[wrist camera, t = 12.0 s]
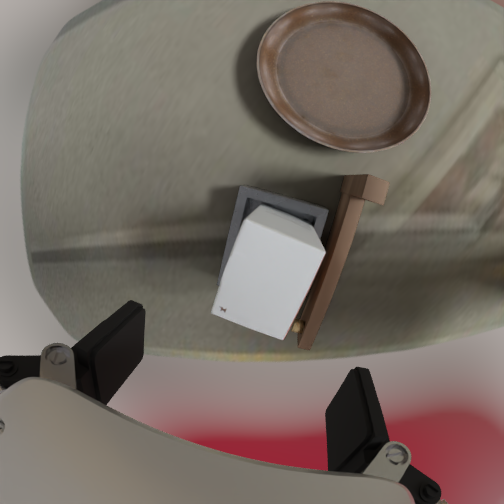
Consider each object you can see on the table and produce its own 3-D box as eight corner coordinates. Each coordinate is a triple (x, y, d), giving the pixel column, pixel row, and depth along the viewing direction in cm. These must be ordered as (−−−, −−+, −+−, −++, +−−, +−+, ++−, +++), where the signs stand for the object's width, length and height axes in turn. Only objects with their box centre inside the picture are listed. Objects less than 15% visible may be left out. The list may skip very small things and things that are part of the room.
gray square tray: (324, 206, 31) (328, 210, 27) (296, 295, 34) (296, 308, 31) (245, 184, 31) (240, 185, 28) (223, 274, 35) (216, 285, 31)
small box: (286, 283, 33) (283, 343, 21) (238, 264, 33) (207, 314, 21) (313, 221, 31) (328, 251, 18) (261, 201, 31) (241, 217, 19)
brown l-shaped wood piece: (360, 180, 29) (389, 182, 20) (309, 329, 35) (313, 378, 25) (336, 172, 29) (357, 170, 20) (288, 324, 35) (286, 372, 26)
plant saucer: (227, 97, 29) (220, 88, 26) (310, -8, 23) (310, -21, 20) (373, 189, 29) (382, 190, 26) (440, 73, 23) (451, 66, 20)
